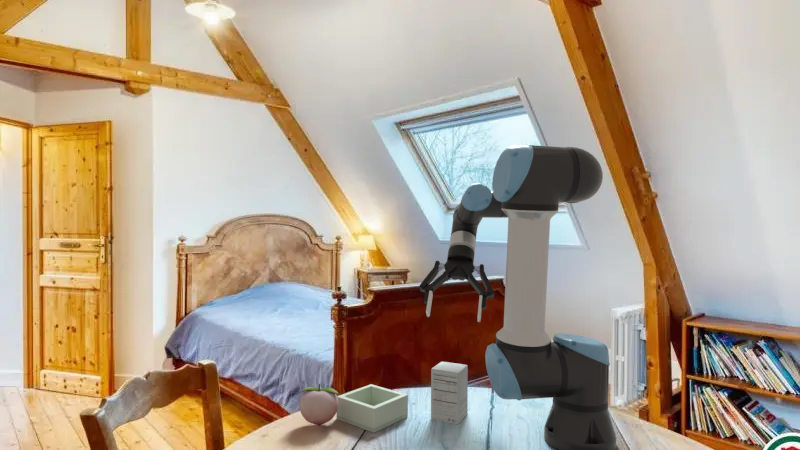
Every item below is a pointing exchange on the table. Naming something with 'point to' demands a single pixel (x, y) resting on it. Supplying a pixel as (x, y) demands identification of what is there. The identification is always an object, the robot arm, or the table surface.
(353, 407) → the open square container
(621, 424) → the table surface
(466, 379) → the supplement box
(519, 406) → the table surface
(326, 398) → the decorative fruit
